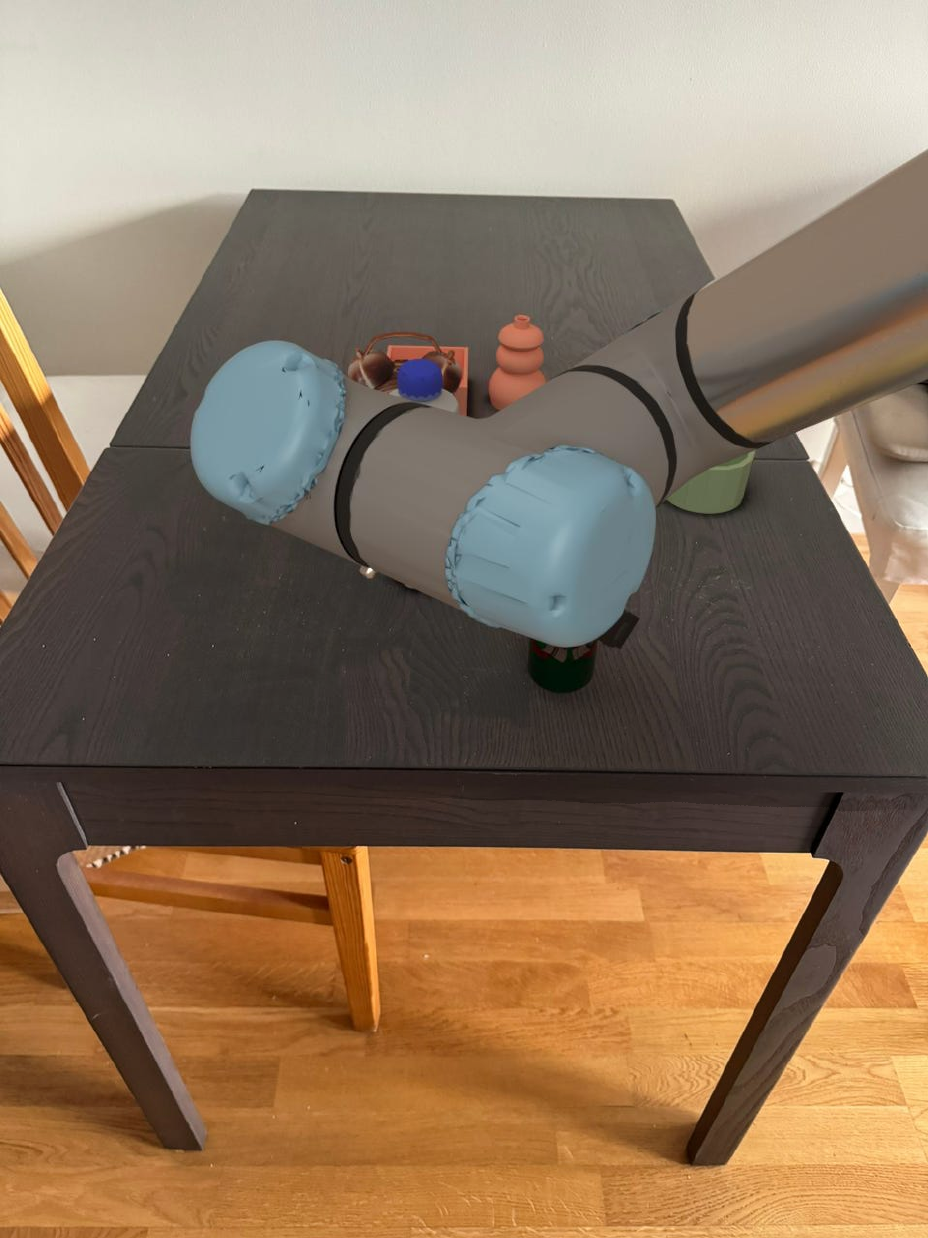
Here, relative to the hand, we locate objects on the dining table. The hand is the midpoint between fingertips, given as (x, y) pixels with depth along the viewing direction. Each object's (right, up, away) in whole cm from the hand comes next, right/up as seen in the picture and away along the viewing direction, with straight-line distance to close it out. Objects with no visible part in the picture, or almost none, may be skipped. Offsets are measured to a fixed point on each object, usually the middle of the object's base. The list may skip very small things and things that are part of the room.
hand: (596, 612), depth 71 cm
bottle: (-14, +3, +11) cm, 18 cm away
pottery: (-10, +24, +34) cm, 43 cm away
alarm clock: (-16, +14, +23) cm, 31 cm away
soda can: (-3, -5, +1) cm, 6 cm away
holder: (+13, +12, +22) cm, 28 cm away
